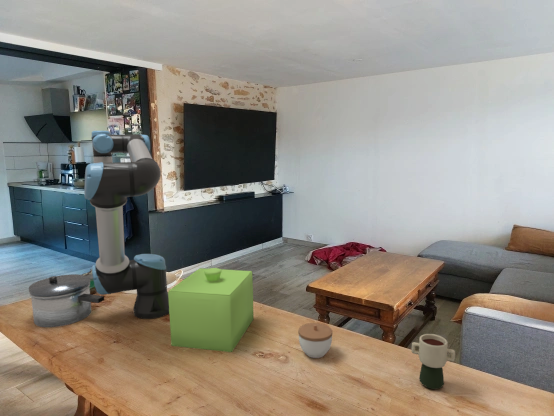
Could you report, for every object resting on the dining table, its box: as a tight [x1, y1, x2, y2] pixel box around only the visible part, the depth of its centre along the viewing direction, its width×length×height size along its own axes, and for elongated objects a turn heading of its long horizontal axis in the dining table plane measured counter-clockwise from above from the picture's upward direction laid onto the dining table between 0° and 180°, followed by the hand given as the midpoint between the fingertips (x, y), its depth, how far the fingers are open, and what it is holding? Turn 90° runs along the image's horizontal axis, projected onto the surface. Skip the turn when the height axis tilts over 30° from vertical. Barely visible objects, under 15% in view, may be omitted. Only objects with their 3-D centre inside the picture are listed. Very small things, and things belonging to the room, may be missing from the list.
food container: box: [81, 268, 97, 295], centre depth 176 cm, size 12×6×10 cm, turn 168°
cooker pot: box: [29, 284, 105, 328], centre depth 151 cm, size 31×21×12 cm
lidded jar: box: [297, 322, 333, 359], centre depth 122 cm, size 11×11×9 cm
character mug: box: [411, 333, 456, 390], centre depth 105 cm, size 11×7×13 cm, turn 64°
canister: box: [167, 267, 254, 353], centre depth 137 cm, size 25×21×23 cm
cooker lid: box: [28, 273, 90, 297], centre depth 152 cm, size 21×21×4 cm
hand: (107, 219), depth 172 cm, fingers closed
